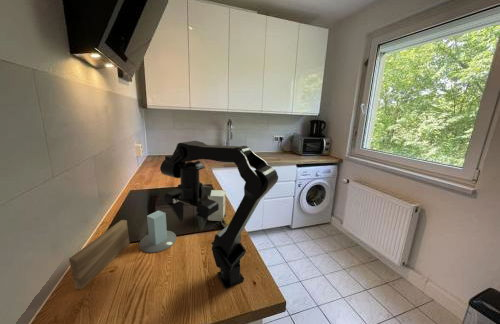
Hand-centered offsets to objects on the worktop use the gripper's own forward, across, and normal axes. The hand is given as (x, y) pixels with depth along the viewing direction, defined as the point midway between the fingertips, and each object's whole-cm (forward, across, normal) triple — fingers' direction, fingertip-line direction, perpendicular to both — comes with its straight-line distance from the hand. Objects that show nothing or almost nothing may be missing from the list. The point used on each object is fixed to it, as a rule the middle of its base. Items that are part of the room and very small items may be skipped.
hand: (191, 225), depth 67 cm
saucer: (+13, +18, 0) cm, 22 cm away
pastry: (+14, +1, -25) cm, 29 cm away
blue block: (+12, +18, 0) cm, 21 cm away
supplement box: (+13, +10, -27) cm, 31 cm away
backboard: (+13, +22, +16) cm, 30 cm away
